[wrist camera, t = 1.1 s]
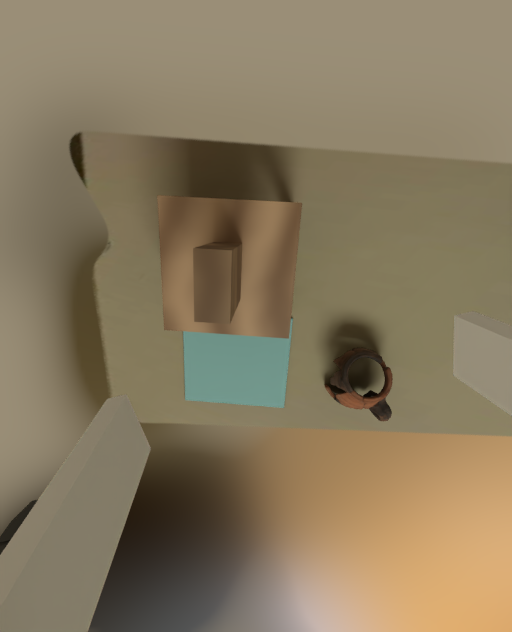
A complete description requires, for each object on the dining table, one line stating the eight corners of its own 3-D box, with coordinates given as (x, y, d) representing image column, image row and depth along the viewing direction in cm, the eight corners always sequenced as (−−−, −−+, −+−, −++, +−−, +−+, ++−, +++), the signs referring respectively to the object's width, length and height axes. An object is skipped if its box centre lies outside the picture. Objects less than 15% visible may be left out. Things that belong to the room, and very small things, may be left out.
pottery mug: (307, 376, 47) (323, 377, 39) (344, 338, 49) (367, 331, 41) (359, 431, 46) (386, 443, 38) (394, 389, 48) (428, 392, 40)
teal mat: (292, 318, 43) (292, 319, 43) (283, 406, 48) (283, 407, 48) (183, 310, 44) (182, 311, 44) (185, 398, 49) (185, 399, 49)
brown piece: (293, 208, 39) (313, 194, 20) (284, 309, 43) (293, 374, 25) (189, 203, 39) (114, 184, 21) (191, 303, 44) (131, 361, 25)
